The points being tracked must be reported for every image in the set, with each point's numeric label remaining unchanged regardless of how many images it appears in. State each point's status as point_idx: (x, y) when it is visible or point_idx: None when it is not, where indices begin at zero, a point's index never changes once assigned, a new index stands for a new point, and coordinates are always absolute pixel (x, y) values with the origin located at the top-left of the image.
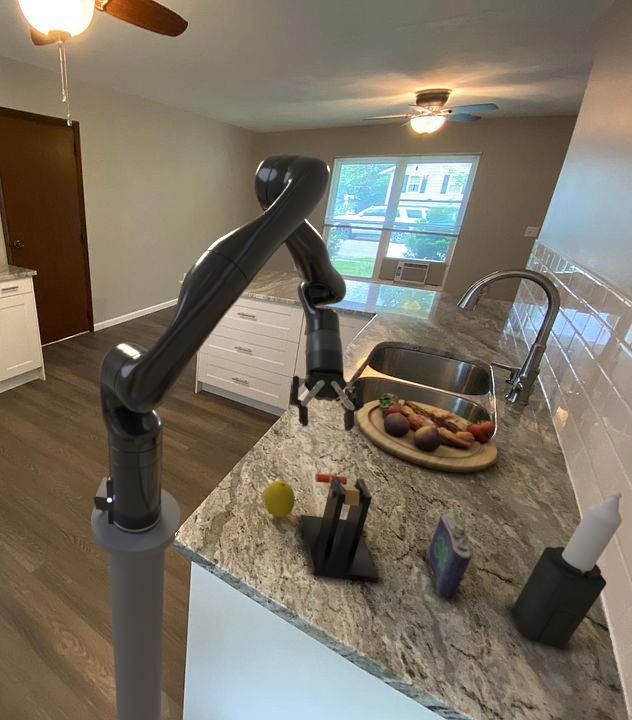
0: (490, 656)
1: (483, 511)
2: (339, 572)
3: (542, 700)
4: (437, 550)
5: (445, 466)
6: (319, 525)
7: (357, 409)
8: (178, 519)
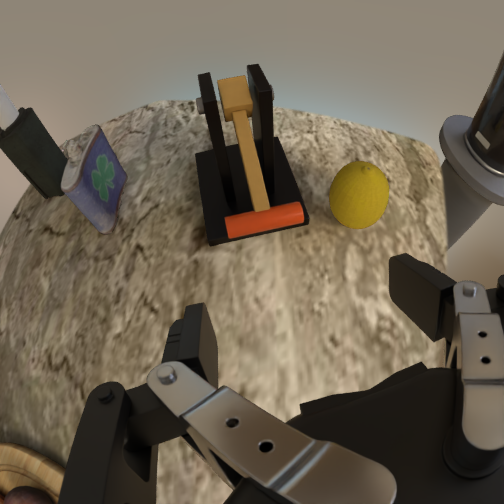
0: (116, 139)
1: (11, 354)
2: None
3: (100, 127)
4: (103, 192)
5: (22, 448)
6: (275, 205)
7: (133, 389)
8: (455, 154)
